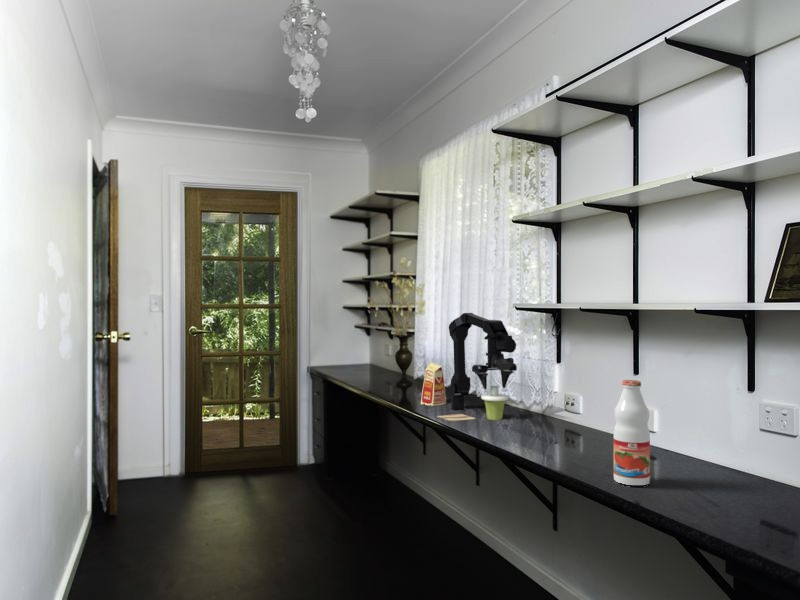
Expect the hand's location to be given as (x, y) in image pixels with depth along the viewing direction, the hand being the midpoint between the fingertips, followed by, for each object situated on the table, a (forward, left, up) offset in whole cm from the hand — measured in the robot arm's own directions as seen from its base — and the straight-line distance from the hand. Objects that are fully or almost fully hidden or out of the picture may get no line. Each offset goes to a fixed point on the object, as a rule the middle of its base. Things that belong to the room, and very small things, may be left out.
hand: (494, 388), depth 261 cm
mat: (-9, -13, -13) cm, 20 cm away
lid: (0, 0, -4) cm, 4 cm away
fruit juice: (+89, -16, -13) cm, 91 cm away
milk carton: (-44, -4, -13) cm, 46 cm away
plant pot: (0, 0, -13) cm, 13 cm away
